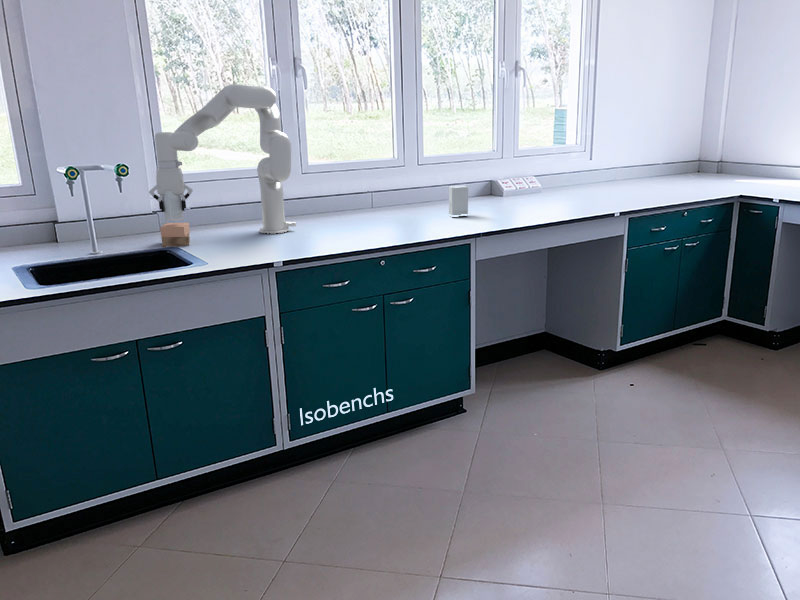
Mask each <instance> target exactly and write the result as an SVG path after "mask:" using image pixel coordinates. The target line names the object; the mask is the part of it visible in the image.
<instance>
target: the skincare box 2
mask: <svg viewBox="0 0 800 600" xmlns="http://www.w3.org/2000/svg"><path fill="white" fill-rule="evenodd" d="M449 214H451V215H461V214H468V215H469V187H468V186H466V185H464V184H462V185H450V186H448V215H449Z"/></svg>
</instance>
